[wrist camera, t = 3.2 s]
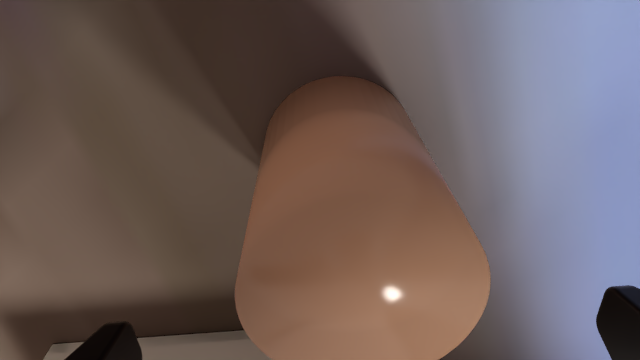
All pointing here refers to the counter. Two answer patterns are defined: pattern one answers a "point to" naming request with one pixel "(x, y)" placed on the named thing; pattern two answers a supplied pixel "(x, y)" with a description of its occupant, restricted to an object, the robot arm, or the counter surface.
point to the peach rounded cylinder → (355, 235)
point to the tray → (184, 347)
